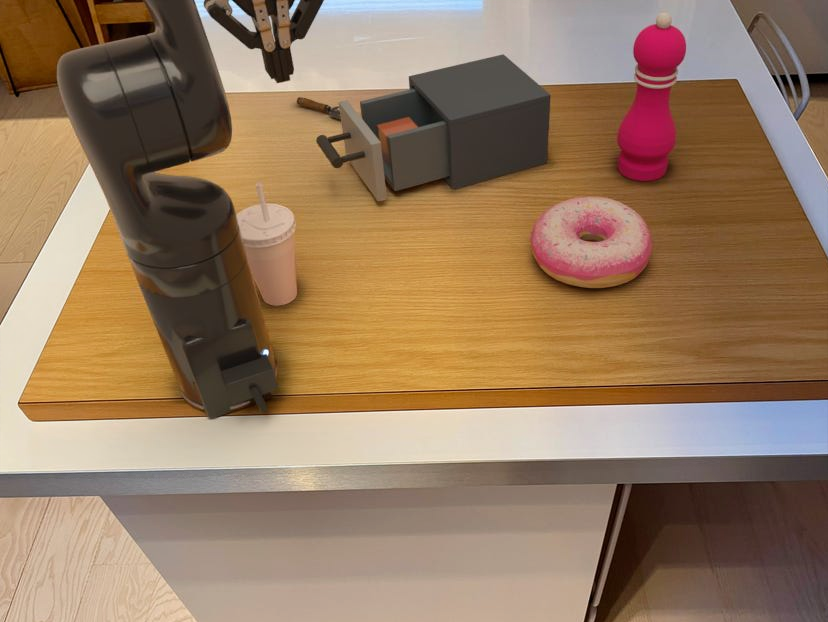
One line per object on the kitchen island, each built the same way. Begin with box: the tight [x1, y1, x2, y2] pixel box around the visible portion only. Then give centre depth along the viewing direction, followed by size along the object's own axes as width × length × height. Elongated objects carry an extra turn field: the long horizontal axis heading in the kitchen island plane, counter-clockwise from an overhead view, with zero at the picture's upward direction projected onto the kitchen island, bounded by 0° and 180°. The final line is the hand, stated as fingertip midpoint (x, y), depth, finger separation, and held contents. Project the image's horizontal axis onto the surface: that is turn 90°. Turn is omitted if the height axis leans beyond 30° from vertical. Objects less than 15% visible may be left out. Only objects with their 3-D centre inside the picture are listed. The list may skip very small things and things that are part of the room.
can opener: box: [296, 96, 341, 120], centre depth 117 cm, size 9×2×1 cm, turn 56°
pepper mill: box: [616, 11, 687, 182], centre depth 99 cm, size 7×7×20 cm
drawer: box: [315, 88, 450, 202], centre depth 102 cm, size 17×11×8 cm
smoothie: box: [236, 182, 298, 307], centre depth 84 cm, size 6×6×14 cm
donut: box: [530, 195, 653, 289], centre depth 91 cm, size 14×13×5 cm
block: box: [377, 117, 418, 168], centre depth 103 cm, size 4×4×4 cm
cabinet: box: [408, 53, 552, 191], centre depth 105 cm, size 14×13×10 cm
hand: (281, 78), depth 90 cm, fingers closed
